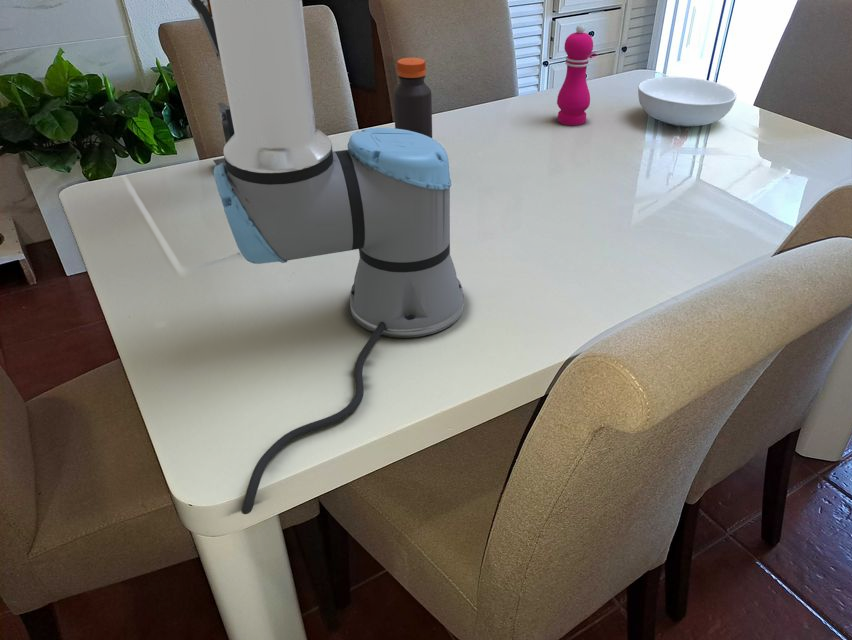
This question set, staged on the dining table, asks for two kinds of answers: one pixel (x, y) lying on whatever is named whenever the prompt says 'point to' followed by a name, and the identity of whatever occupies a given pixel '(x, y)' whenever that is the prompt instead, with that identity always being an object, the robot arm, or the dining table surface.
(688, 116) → the serving bowl
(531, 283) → the dining table surface
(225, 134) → the bracket
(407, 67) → the bottle
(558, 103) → the pepper mill
